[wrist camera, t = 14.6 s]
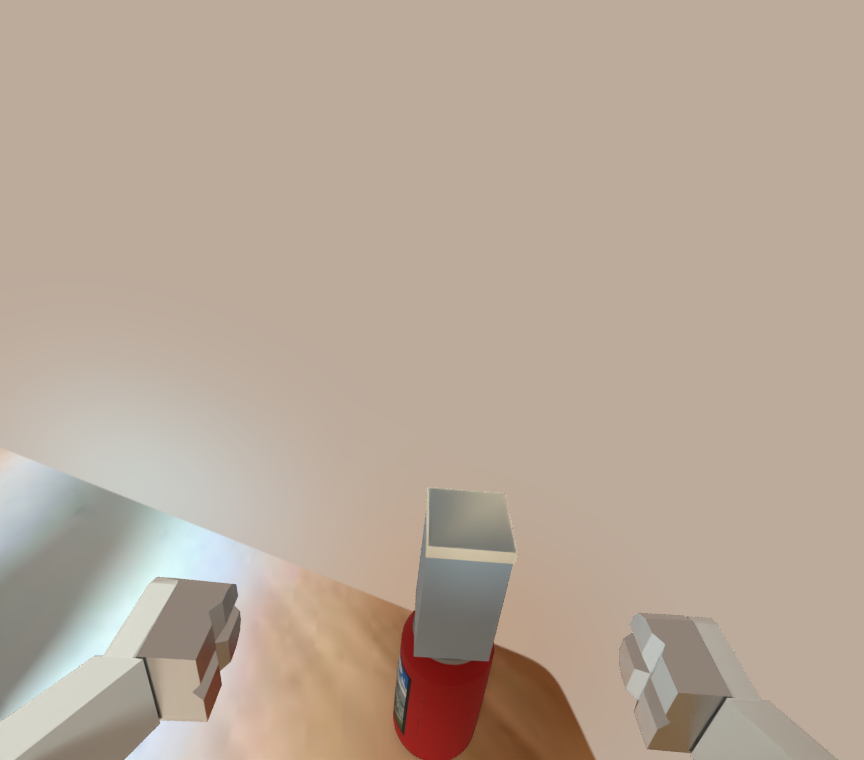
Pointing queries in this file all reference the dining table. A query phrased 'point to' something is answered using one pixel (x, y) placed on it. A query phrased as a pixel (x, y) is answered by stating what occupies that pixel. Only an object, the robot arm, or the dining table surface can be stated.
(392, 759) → the dining table surface
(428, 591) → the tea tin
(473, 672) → the beverage can
